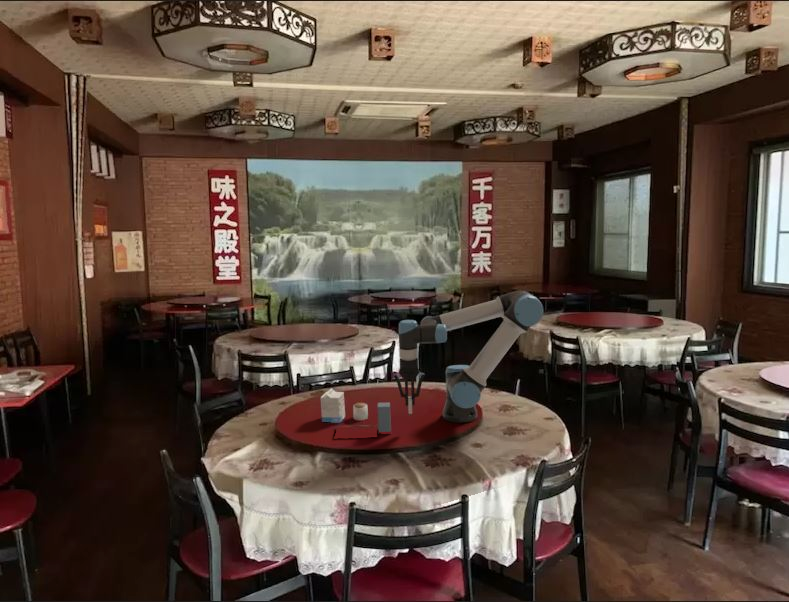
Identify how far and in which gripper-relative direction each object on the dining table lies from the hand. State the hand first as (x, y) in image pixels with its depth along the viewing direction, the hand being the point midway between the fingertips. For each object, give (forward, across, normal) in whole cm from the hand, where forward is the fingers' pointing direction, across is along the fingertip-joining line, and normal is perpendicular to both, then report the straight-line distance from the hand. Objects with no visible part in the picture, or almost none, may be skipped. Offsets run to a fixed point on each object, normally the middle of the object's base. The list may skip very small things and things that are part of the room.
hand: (410, 412), depth 246 cm
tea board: (+8, +23, 0) cm, 24 cm away
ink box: (+9, +34, -16) cm, 38 cm away
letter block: (+8, +11, 0) cm, 14 cm away
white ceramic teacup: (+8, +22, -17) cm, 29 cm away
